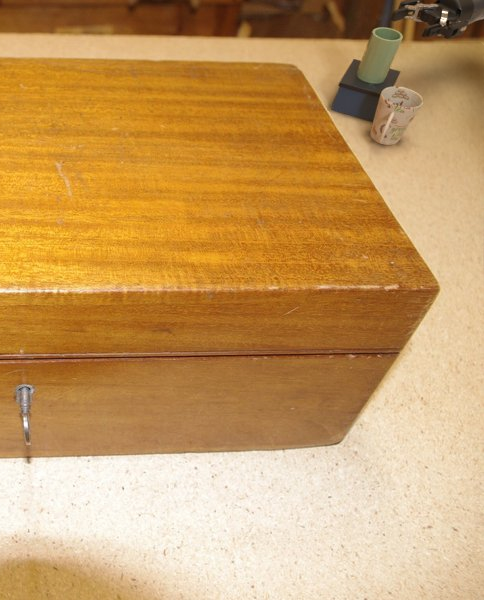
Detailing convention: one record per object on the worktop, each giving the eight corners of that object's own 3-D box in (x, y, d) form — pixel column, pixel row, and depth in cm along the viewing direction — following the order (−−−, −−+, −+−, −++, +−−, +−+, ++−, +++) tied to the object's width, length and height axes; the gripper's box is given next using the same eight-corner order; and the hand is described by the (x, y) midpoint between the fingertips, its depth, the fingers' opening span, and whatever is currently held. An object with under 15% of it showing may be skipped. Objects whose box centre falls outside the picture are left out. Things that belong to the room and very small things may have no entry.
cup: (387, 74, 159) (405, 32, 151) (381, 86, 155) (399, 43, 148) (360, 66, 161) (376, 24, 154) (353, 78, 157) (369, 35, 150)
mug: (407, 134, 155) (426, 93, 148) (395, 162, 148) (415, 121, 140) (369, 122, 158) (386, 82, 151) (355, 150, 150) (372, 109, 143)
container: (388, 98, 165) (400, 71, 160) (376, 123, 158) (388, 96, 152) (343, 85, 169) (353, 58, 164) (329, 109, 161) (339, 82, 156)
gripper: (439, -20, 159) (389, -6, 154) (494, 5, 151) (443, 21, 145) (425, 13, 165) (376, 27, 159) (477, 39, 156) (428, 55, 151)
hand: (408, 24), depth 152 cm, fingers open, 8 cm apart
